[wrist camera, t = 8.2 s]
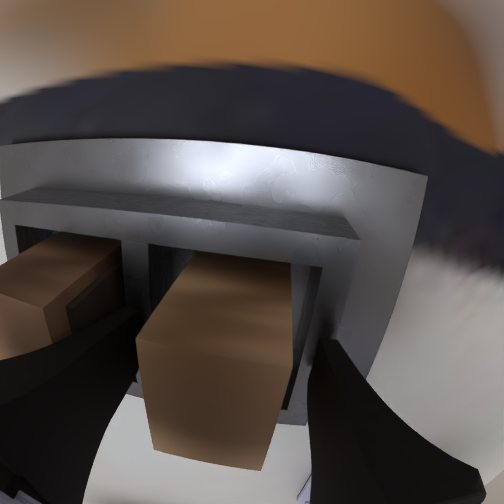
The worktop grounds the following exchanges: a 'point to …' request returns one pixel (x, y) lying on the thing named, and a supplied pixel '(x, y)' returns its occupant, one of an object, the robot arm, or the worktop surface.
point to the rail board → (229, 226)
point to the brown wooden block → (58, 290)
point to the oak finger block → (218, 359)
